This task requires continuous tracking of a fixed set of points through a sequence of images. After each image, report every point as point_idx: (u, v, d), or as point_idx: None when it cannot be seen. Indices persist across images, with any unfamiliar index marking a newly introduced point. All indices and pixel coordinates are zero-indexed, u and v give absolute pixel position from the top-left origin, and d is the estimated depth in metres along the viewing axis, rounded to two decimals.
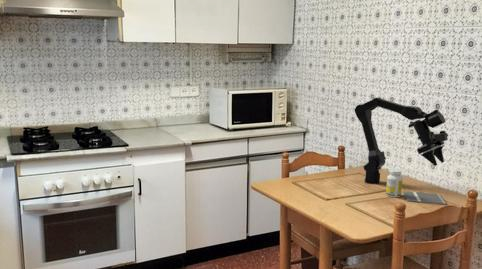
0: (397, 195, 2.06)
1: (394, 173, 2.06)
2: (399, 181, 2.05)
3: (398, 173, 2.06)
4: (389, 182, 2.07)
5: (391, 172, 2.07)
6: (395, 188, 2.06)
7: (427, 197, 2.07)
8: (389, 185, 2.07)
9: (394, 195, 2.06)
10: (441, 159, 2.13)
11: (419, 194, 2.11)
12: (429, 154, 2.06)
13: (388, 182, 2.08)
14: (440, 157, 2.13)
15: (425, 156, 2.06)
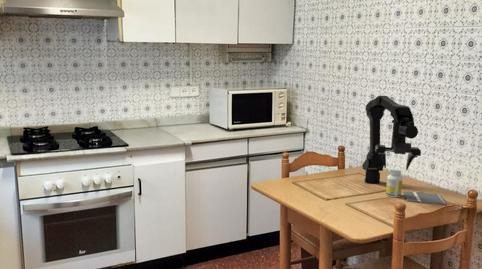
0: (397, 195, 2.06)
1: (394, 173, 2.06)
2: (399, 181, 2.05)
3: (398, 173, 2.06)
4: (389, 182, 2.07)
5: (391, 172, 2.07)
6: (395, 188, 2.06)
7: (427, 197, 2.07)
8: (389, 185, 2.07)
9: (394, 195, 2.06)
10: (406, 166, 2.07)
11: (419, 194, 2.11)
12: None
13: (388, 182, 2.08)
14: (407, 164, 2.06)
15: None
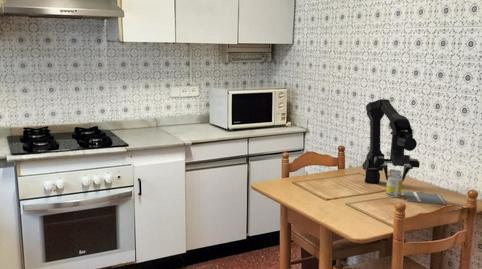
0: (397, 195, 2.06)
1: (394, 173, 2.06)
2: (399, 181, 2.05)
3: (398, 173, 2.06)
4: (389, 182, 2.07)
5: (391, 172, 2.07)
6: (395, 188, 2.06)
7: (427, 197, 2.07)
8: (389, 185, 2.07)
9: (394, 195, 2.06)
10: (402, 178, 2.08)
11: (419, 194, 2.11)
12: None
13: (388, 182, 2.08)
14: (403, 175, 2.07)
15: None
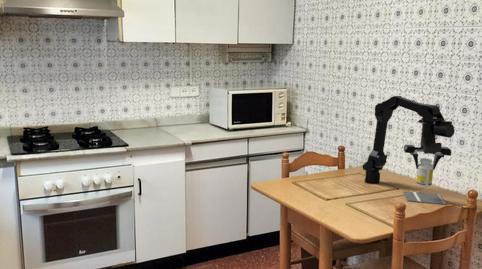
0: (428, 184, 2.03)
1: (425, 162, 2.02)
2: (430, 170, 2.02)
3: (429, 162, 2.02)
4: (419, 170, 2.03)
5: (422, 161, 2.03)
6: (426, 177, 2.02)
7: (427, 197, 2.07)
8: (419, 174, 2.03)
9: (425, 184, 2.03)
10: (433, 166, 2.04)
11: (419, 194, 2.11)
12: None
13: (418, 171, 2.04)
14: (433, 164, 2.04)
15: (413, 155, 2.07)
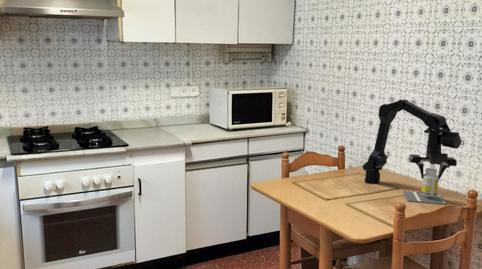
0: (433, 194, 2.03)
1: (430, 172, 2.03)
2: (435, 180, 2.02)
3: (434, 172, 2.02)
4: (425, 180, 2.04)
5: (427, 171, 2.04)
6: (431, 187, 2.03)
7: (427, 197, 2.07)
8: (425, 184, 2.04)
9: (430, 194, 2.03)
10: (438, 176, 2.04)
11: (419, 194, 2.11)
12: None
13: (424, 181, 2.04)
14: (439, 174, 2.04)
15: (418, 165, 2.07)
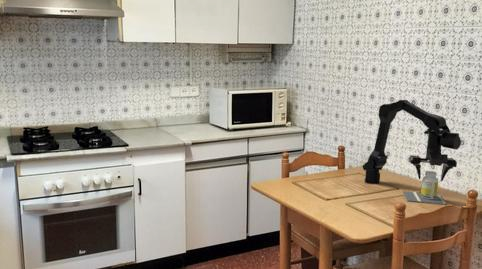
0: (433, 197, 2.04)
1: (430, 175, 2.03)
2: (435, 183, 2.02)
3: (434, 175, 2.03)
4: (424, 183, 2.04)
5: (427, 174, 2.04)
6: (431, 189, 2.03)
7: None
8: (425, 187, 2.04)
9: (430, 197, 2.03)
10: (441, 177, 2.04)
11: (419, 194, 2.11)
12: None
13: (424, 184, 2.05)
14: (442, 175, 2.04)
15: (415, 166, 2.07)
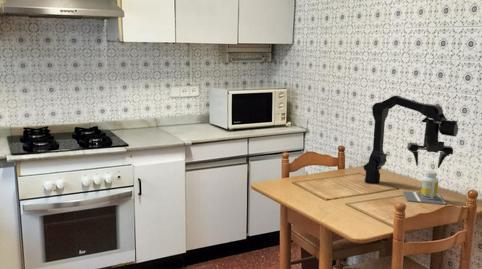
0: (433, 197, 2.04)
1: (430, 175, 2.03)
2: (435, 183, 2.02)
3: (434, 175, 2.03)
4: (424, 183, 2.04)
5: (427, 174, 2.04)
6: (431, 189, 2.03)
7: None
8: (425, 187, 2.04)
9: (430, 197, 2.03)
10: (438, 164, 2.11)
11: (419, 194, 2.11)
12: None
13: (424, 184, 2.05)
14: (438, 162, 2.11)
15: (413, 153, 2.14)
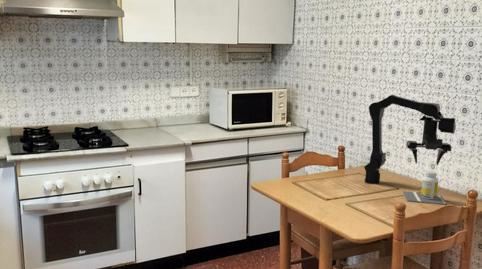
0: (433, 197, 2.04)
1: (430, 175, 2.03)
2: (435, 183, 2.02)
3: (434, 175, 2.03)
4: (424, 183, 2.04)
5: (427, 174, 2.04)
6: (431, 189, 2.03)
7: None
8: (425, 187, 2.04)
9: (430, 197, 2.03)
10: (436, 161, 2.15)
11: (419, 194, 2.11)
12: None
13: (424, 184, 2.05)
14: (437, 159, 2.15)
15: (412, 151, 2.18)
